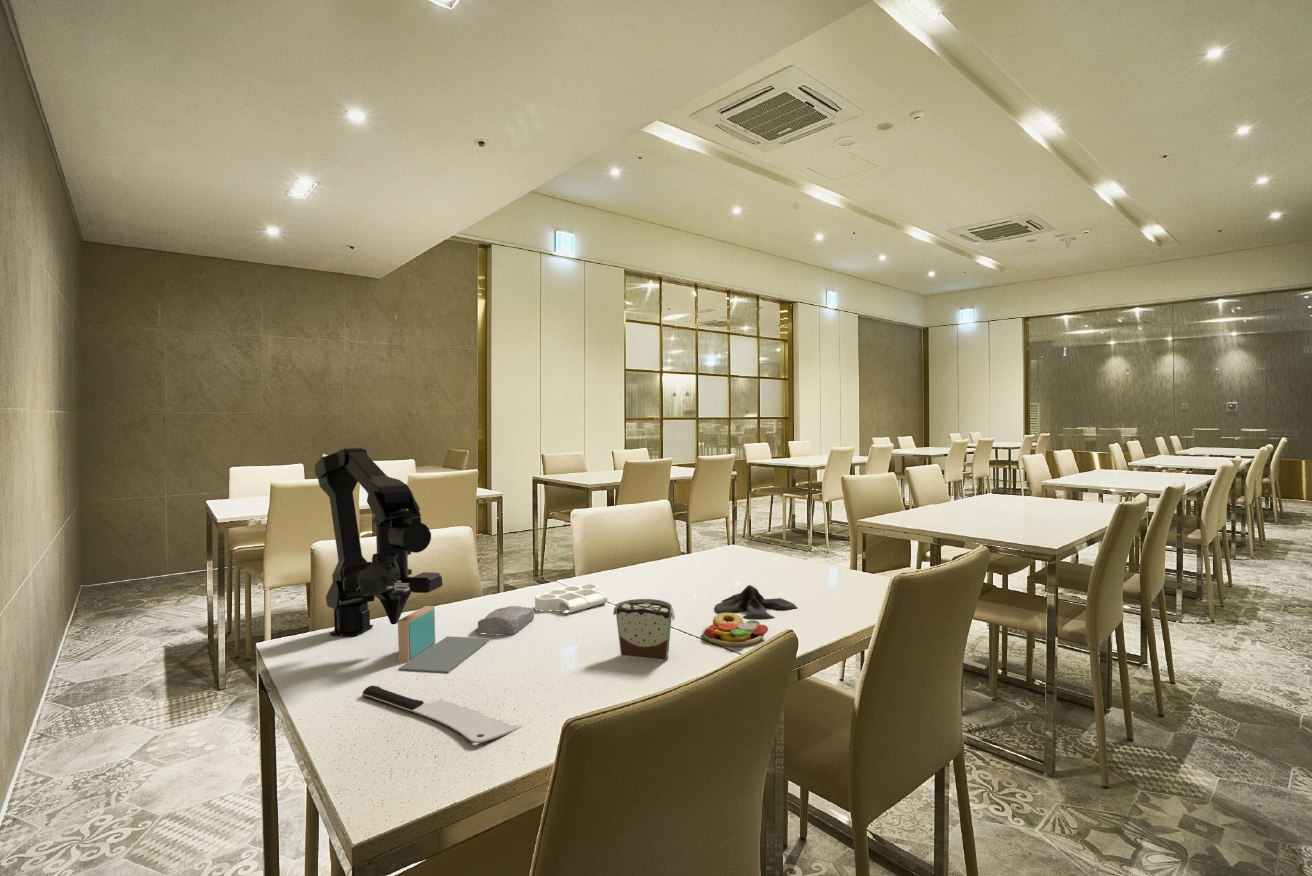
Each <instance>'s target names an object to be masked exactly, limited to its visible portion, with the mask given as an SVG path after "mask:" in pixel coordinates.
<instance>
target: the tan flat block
mask: <svg viewBox="0 0 1312 876" xmlns="http://www.w3.org/2000/svg"><path fill="white" fill-rule="evenodd" d="M435 613H436V610H435V605H434V606H433V605H425V606H423V607H421V608H419V609H418V610H416V611H414V612H411V613H410V614H408V615H406V616H404V617H402V618H401V619H400V618H399V620H398V623H397V635H398V638H397V640H398V642H397V643H398V662H400V663H402V662H403V663H408V662H409V661H411V660H412V659H414V658H415V657H417V656H418V655H420V654H421V653H423V652H424V651H426V650H427V649H429V648H430V647H432V646H433V645H435V644H436V616H435V615H436V614H435Z"/></svg>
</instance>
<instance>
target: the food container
mask: <svg viewBox="0 0 1312 876" xmlns="http://www.w3.org/2000/svg"><path fill="white" fill-rule="evenodd" d="M614 606H615V607H614V608H613V614H612V615H613V616H615V617H616V623H617V624H616V625H617V632H618V633H617V634H618V641H619V651H620V657H624V656H625V657H626V658H635V659H642V658H643V659H644V660H653V661H661V662H662V661H663V662H668V660H669V654H670V652H669V651H670V639H671V627H672V621H675V618H676V616H675V612H674V608H673V606H672V604H671V603H670V602H668V601H664V600H661V599H655V598H654V599H653V598H635V599H627V600H624V601H623V600H622V601H620V602H617V603H616V604H615V605H614Z"/></svg>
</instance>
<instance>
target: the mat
mask: <svg viewBox="0 0 1312 876" xmlns="http://www.w3.org/2000/svg"><path fill="white" fill-rule="evenodd" d="M489 640H490V641H492V638H488V637H472V636H471V637H470V636H469V637H468V636H467V637H466V636H449V635H448V636H445V637H444V638H443V639H441V640H440V641H438V642H437V643H436V642H435V645H433V646H432V647H430V648H429V649H427V650H426V651H424V652H423V653H421V654H420V655H418V656H417V657H415V658H414V659H412V660H411V661H409V662H405V664H403V665H401V666H400V667H399V668H398V671H410V672H411V671H412V672H427V673H443V674H444V673H446V674H449V673H450V672H452V671H453V670H454V669H456V668H457V667H458V666H459V665H460V664H462V663H463V662H464V661H466V660H467V659H468V658H470V657H471V656H472V655H474V654H476V652H477V651H478V650H480V649H481V648H482V646H483V647H484V646H485V645H486V644H488V643H490V641H489ZM487 642H488V643H487Z"/></svg>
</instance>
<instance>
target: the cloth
mask: <svg viewBox="0 0 1312 876" xmlns="http://www.w3.org/2000/svg"><path fill="white" fill-rule="evenodd" d="M797 608H798V606H797V605H796V604H794V603H793V602H791V601H789V600H786V599H784V598H782V597H779V598H777V597H776V598H764V595H762V594H761V593H760V592H759V590H758V588H756V587H755V586H753V585H751V584H750V585H747V586H746V587H745V588H744V589H743V590H741V592H740V593H735V594H733V595H731V596H729V597H727V598H725V599H722V600H721V601H720V602H718V603H717V604H715V606H714V612H715V614H716V615H718V614H720V613H734V614H738V613H741V612H747V613H746V614H745V615H743V616H741V618H742V619H744V620H745V619H746V620H771V619H776V617H775V616H773V615H772V614H770V613H768V612H767V610H772V611H779V610H782V611H791V610H792V609H797ZM792 611H793V610H792Z"/></svg>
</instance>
